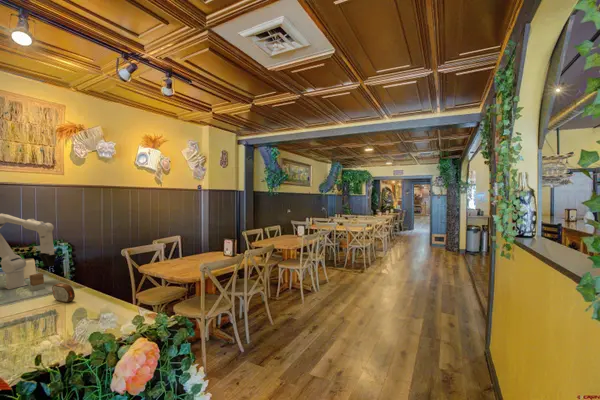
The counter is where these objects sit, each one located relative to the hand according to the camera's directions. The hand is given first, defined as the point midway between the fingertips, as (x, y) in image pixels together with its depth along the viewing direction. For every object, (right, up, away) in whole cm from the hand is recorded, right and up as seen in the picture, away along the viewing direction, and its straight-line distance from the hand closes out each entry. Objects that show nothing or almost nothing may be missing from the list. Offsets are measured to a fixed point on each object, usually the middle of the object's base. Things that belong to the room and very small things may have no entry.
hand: (48, 265), depth 167 cm
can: (-26, -11, +15) cm, 32 cm away
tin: (+35, -10, -30) cm, 47 cm away
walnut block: (+2, -8, -10) cm, 13 cm away
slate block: (+3, -11, -10) cm, 15 cm away
